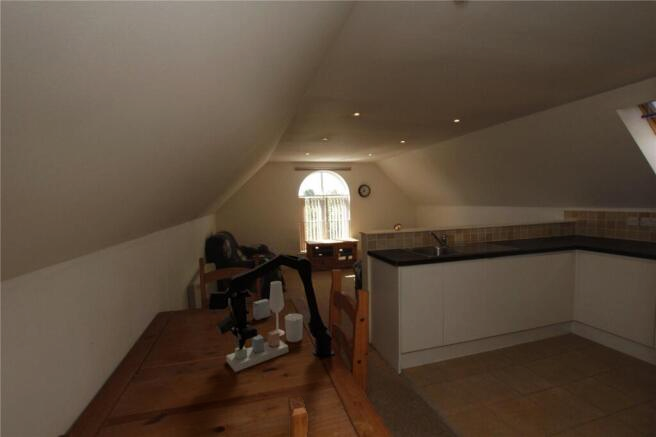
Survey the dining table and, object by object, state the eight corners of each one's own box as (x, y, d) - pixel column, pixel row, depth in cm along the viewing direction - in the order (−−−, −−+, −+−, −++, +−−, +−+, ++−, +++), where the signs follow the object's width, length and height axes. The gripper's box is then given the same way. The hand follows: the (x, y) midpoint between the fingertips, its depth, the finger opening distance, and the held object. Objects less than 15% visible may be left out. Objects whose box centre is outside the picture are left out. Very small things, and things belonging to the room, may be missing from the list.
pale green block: (247, 361, 111) (246, 348, 111) (238, 364, 109) (238, 351, 109) (243, 358, 114) (243, 345, 114) (235, 361, 112) (234, 348, 112)
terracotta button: (279, 344, 120) (279, 332, 120) (272, 347, 118) (271, 334, 118) (275, 341, 123) (275, 329, 122) (268, 344, 120) (268, 332, 120)
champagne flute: (286, 334, 135) (284, 283, 134) (271, 337, 133) (269, 285, 131) (283, 329, 141) (281, 279, 140) (269, 331, 139) (267, 281, 138)
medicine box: (266, 314, 161) (265, 298, 161) (270, 316, 158) (270, 300, 157) (253, 318, 156) (252, 302, 155) (257, 320, 153) (256, 304, 152)
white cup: (300, 343, 126) (299, 320, 126) (282, 342, 128) (282, 319, 127) (305, 335, 134) (304, 314, 133) (288, 334, 135) (288, 313, 135)
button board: (288, 351, 119) (288, 345, 119) (235, 371, 106) (235, 365, 106) (277, 343, 126) (277, 338, 126) (226, 361, 113) (226, 355, 113)
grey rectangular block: (264, 350, 116) (263, 337, 115) (255, 352, 113) (255, 340, 113) (260, 346, 118) (259, 334, 118) (252, 349, 116) (251, 337, 116)
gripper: (209, 306, 113) (211, 346, 114) (226, 321, 98) (228, 366, 99) (238, 300, 120) (239, 337, 121) (257, 313, 105) (259, 355, 106)
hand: (240, 348), depth 111 cm, fingers closed, pressing on pale green block
